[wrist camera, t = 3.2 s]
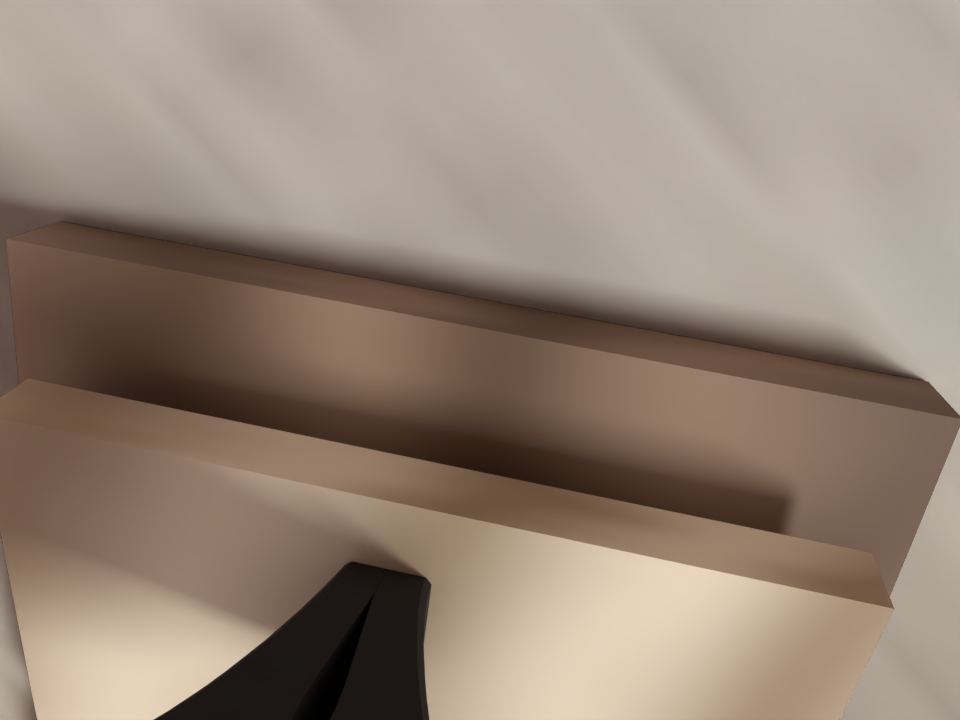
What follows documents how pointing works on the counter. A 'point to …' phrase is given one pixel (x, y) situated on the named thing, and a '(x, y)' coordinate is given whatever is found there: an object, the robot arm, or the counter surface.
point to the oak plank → (405, 548)
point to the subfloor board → (486, 386)
